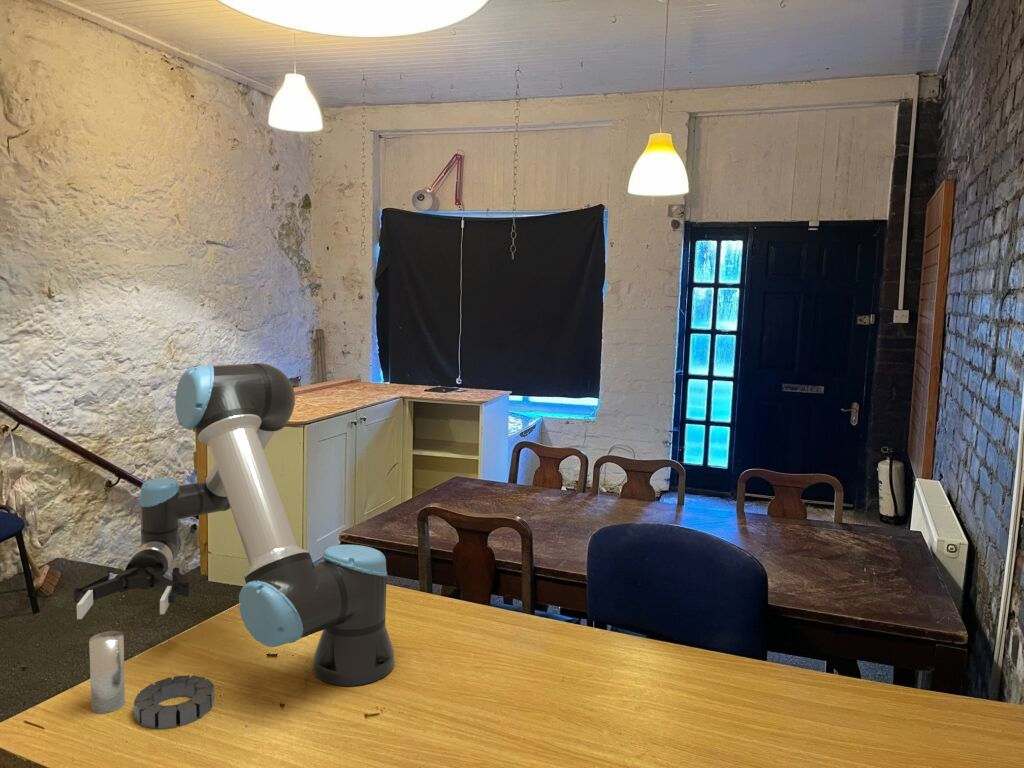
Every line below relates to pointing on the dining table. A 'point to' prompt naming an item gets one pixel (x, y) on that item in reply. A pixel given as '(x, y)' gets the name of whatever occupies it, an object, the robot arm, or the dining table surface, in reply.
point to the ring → (172, 715)
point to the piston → (107, 671)
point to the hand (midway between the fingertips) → (121, 609)
